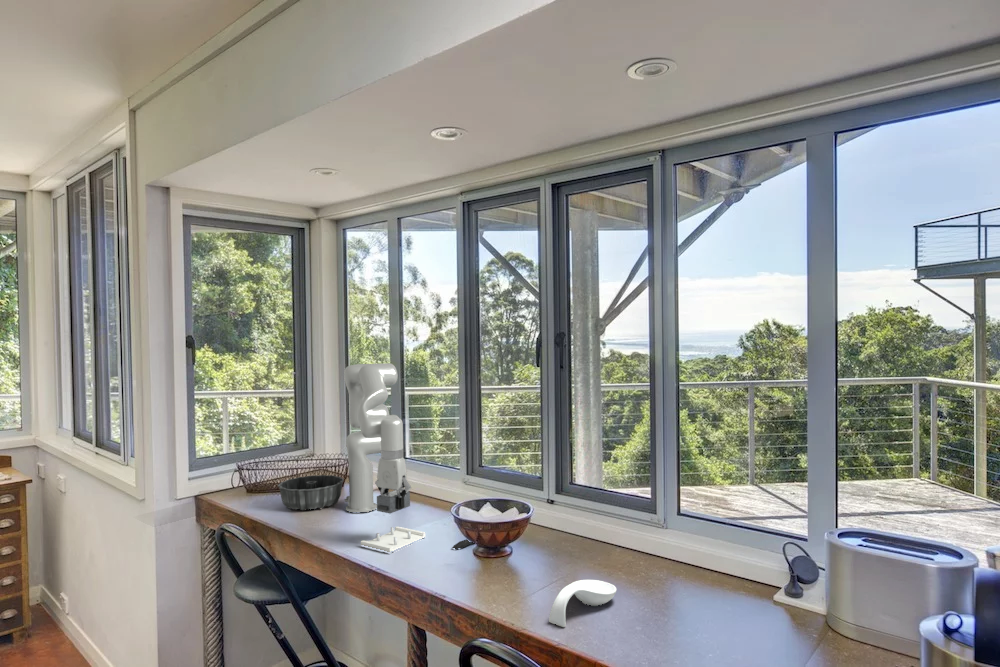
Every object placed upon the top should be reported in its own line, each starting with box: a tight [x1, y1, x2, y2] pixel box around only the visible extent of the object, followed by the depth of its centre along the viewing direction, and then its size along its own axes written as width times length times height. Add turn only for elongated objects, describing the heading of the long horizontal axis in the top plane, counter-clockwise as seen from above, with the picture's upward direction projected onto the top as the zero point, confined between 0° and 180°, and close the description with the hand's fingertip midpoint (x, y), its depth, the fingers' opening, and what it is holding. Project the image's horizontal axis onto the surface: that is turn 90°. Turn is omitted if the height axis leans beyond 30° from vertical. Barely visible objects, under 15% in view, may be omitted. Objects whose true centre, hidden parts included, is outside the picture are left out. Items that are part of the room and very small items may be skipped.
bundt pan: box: [277, 474, 345, 511], centre depth 259 cm, size 26×26×10 cm
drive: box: [376, 490, 411, 514], centre depth 211 cm, size 6×11×5 cm, turn 147°
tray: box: [360, 526, 426, 552], centre depth 211 cm, size 13×18×4 cm
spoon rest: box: [548, 579, 618, 628], centre depth 160 cm, size 24×12×7 cm, turn 142°
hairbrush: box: [451, 538, 471, 549], centre depth 211 cm, size 8×4×25 cm
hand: (393, 506), depth 211 cm, fingers closed on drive, 6 cm apart
